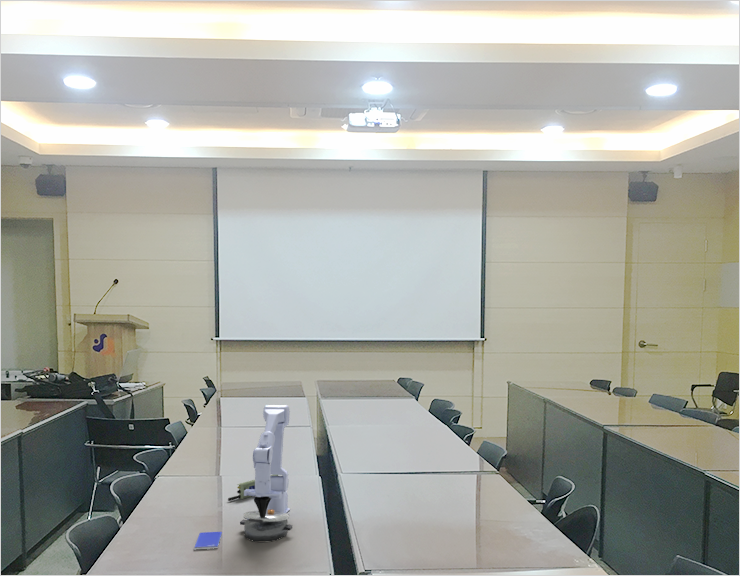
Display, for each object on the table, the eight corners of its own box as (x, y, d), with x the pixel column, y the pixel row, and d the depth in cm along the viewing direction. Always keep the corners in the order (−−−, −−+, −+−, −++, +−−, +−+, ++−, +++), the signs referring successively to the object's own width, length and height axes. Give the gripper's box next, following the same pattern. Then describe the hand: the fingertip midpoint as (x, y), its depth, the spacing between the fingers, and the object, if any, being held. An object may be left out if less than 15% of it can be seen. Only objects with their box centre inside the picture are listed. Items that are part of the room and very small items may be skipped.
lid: (255, 511, 239) (256, 505, 240) (295, 515, 235) (296, 510, 235) (233, 519, 222) (234, 513, 222) (276, 524, 217) (276, 518, 218)
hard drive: (217, 545, 216) (221, 531, 228) (194, 547, 215) (199, 532, 227) (217, 550, 216) (221, 535, 228) (194, 551, 215) (199, 536, 227)
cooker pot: (253, 519, 241) (252, 509, 241) (300, 525, 235) (300, 515, 235) (231, 538, 224) (231, 527, 224) (282, 545, 218) (282, 534, 218)
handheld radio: (279, 489, 275) (230, 503, 258) (275, 487, 278) (226, 501, 261) (279, 474, 275) (230, 487, 259) (275, 473, 278) (226, 486, 261)
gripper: (240, 481, 224) (240, 518, 224) (276, 485, 220) (276, 522, 220) (248, 475, 231) (248, 511, 231) (284, 478, 227) (284, 515, 227)
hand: (262, 516), depth 226 cm, fingers closed, pressing on lid
